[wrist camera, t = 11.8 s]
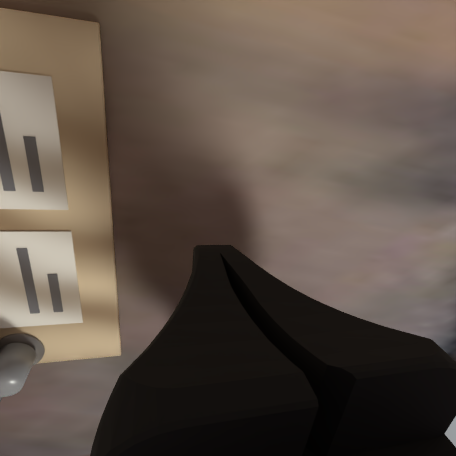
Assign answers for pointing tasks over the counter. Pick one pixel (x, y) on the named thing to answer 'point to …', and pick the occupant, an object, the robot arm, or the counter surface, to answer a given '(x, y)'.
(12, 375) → the grey slotted block
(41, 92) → the label board
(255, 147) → the counter surface
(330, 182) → the counter surface
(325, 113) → the counter surface
